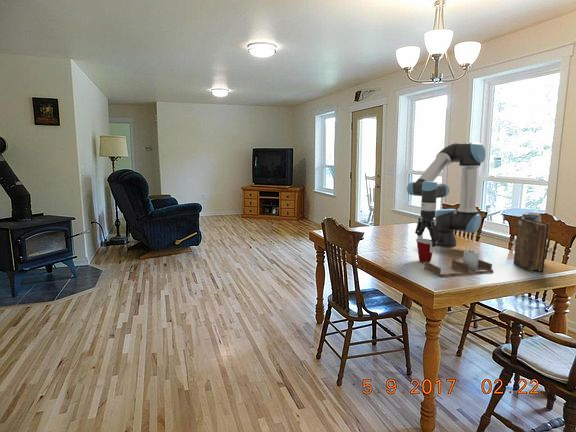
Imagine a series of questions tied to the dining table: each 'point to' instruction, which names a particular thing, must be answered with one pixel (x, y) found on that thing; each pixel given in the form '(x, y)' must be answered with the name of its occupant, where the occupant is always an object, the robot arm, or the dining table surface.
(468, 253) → the stoneware jar
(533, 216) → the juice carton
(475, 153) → the robot arm
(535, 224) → the book
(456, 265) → the comb rack
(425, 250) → the plastic cup
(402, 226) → the dining table surface
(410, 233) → the dining table surface
